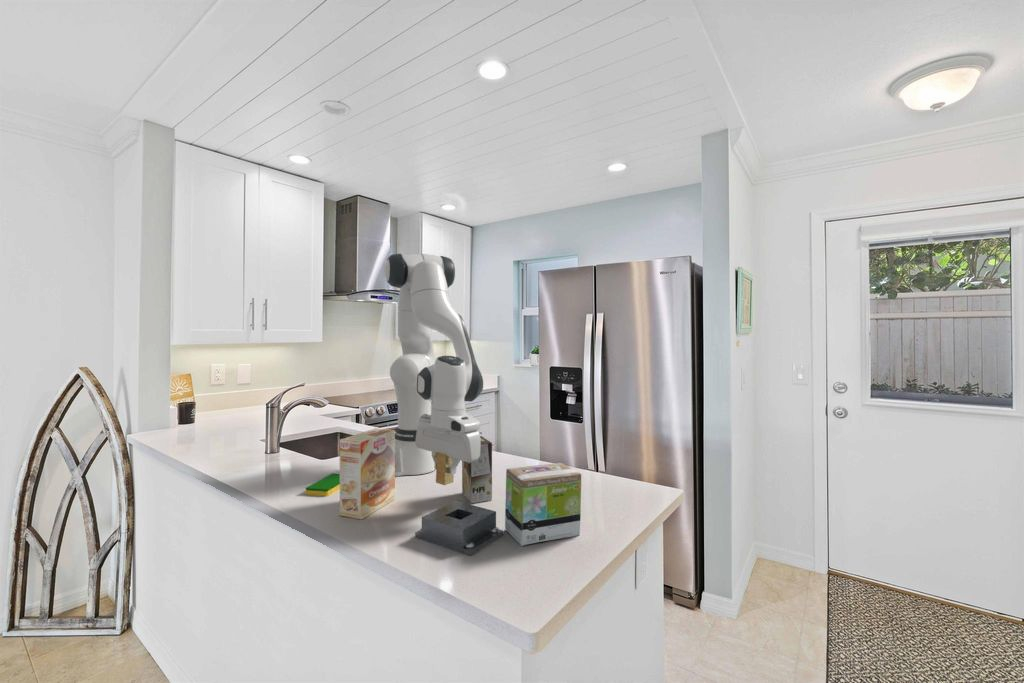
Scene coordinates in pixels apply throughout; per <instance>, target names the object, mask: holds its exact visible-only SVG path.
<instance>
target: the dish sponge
mask: <svg viewBox="0 0 1024 683" xmlns="http://www.w3.org/2000/svg"><path fill="white" fill-rule="evenodd" d="M337 491H340V473H331V474H329V475H327V476H325V477H323V478H322V479H319V480H318V481H316V482H314V483H312V484H310V485H308V486H307V487H305V496H306V495H307V496H318V497H329V496H331V495H332V494H334V493H336V492H337Z"/></svg>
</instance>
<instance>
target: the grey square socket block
mask: <svg viewBox="0 0 1024 683" xmlns="http://www.w3.org/2000/svg"><path fill="white" fill-rule="evenodd" d="M414 534H415V535H414V537H415V538H417V539H419V540H422V541H426V542H429V543H432V544H434V545H438V546H441V547H443V548H446V549H449V550H453V551H456V552H458V553H461V554H464V555H467V556H472V555H475V554H476V553H478V552H479V551H481V550H482V549H484V548H485V547H486V546H488V545H490V544H491V543H493V542H494V541H496V540H497V539H499V538H500V537H502V536H504V530H503V529H500V528H499V527H497V511H496V510H492V509H488V508H485V507H481V506H477V505H474V504H471V503H470V504H469V503H466V502H462V501H458V500H455V501H453V502H450V503H449V504H447V505H445V506H442V507H441V508H438V509H436V510H434V511H431V512H429V513H427V514H426V515H423V516H421V528H420V529H419V530H418V531H415V533H414Z"/></svg>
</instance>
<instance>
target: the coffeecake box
mask: <svg viewBox="0 0 1024 683" xmlns="http://www.w3.org/2000/svg"><path fill="white" fill-rule="evenodd" d="M339 474H340V489H339V516H340V517H341V516H342V517H347V518H352V519H356V520H363V519H365V518H366V517H367V516H369V515H371V514H372V513H374V512H377V511H378V510H379V509H381V508H382V507H385V506H386V505H388V504H390V503H391V502H394V500H396V476H395V430H392V429H390V428H389V429H388V428H376V427H374V428H373V429H369V430H366V431H363V432H360V433H356V434H353V435H350V436H347V437H345V438H340V439H339Z"/></svg>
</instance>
